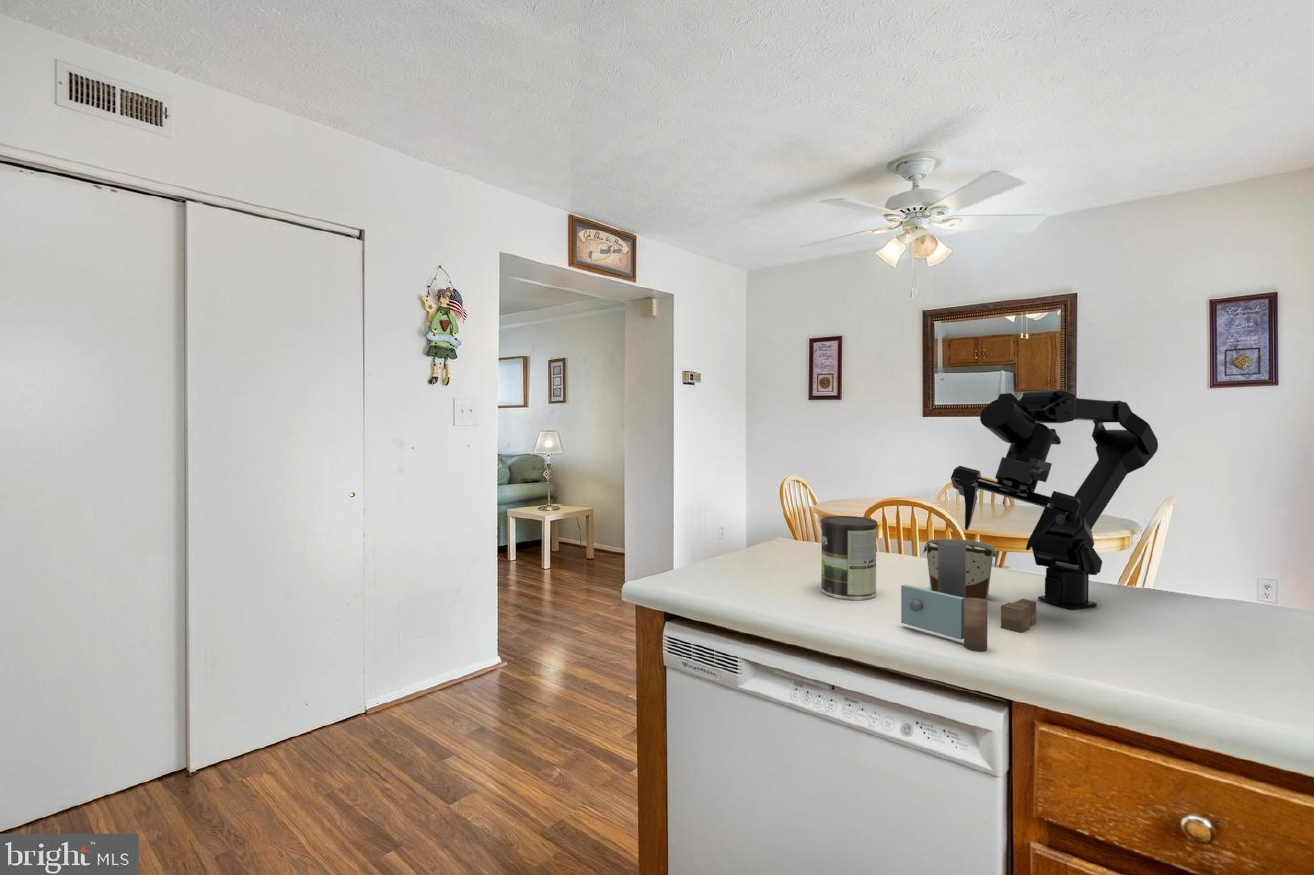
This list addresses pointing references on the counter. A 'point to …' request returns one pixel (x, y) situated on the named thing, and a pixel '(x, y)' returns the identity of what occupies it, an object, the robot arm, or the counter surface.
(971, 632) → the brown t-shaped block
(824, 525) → the coffee can
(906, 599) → the door
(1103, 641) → the counter surface
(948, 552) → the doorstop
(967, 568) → the food container
